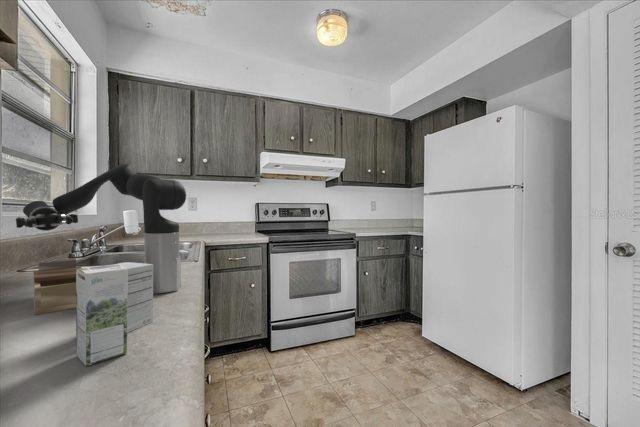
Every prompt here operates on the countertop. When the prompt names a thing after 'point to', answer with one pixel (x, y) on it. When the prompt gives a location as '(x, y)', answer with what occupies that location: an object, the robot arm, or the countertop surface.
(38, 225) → the robot arm
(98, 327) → the syrup box
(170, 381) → the countertop surface
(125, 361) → the countertop surface
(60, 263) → the brown wooden block
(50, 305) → the box
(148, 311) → the supplement box
